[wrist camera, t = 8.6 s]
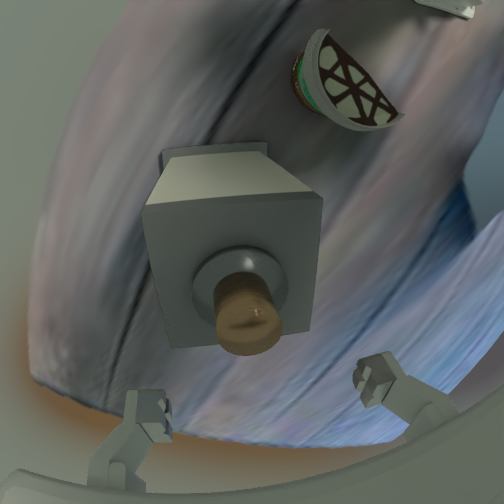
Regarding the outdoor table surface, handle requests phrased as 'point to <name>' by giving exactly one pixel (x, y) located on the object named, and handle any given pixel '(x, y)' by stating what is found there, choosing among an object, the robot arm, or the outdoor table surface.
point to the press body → (228, 229)
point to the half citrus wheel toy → (339, 87)
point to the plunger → (241, 297)
